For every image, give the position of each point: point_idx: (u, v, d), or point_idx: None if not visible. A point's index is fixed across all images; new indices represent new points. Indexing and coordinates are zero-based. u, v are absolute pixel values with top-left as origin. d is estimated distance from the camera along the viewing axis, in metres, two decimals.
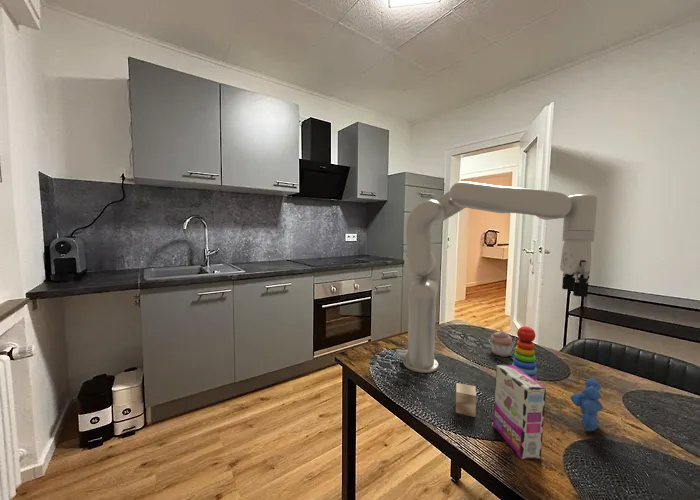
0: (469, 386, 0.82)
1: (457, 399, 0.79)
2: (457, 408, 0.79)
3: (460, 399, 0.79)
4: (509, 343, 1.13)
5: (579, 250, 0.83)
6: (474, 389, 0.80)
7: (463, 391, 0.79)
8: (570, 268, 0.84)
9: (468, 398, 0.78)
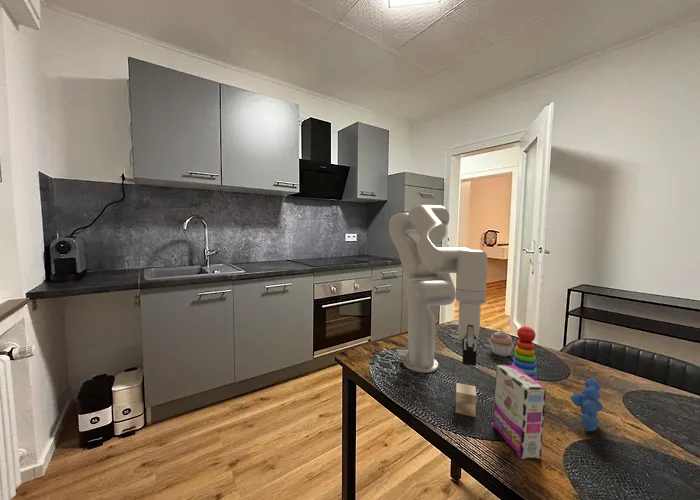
0: (469, 386, 0.82)
1: (457, 399, 0.79)
2: (457, 408, 0.79)
3: (460, 399, 0.79)
4: (509, 343, 1.13)
5: (466, 313, 0.74)
6: (474, 389, 0.80)
7: (463, 391, 0.79)
8: (459, 332, 0.75)
9: (468, 398, 0.78)
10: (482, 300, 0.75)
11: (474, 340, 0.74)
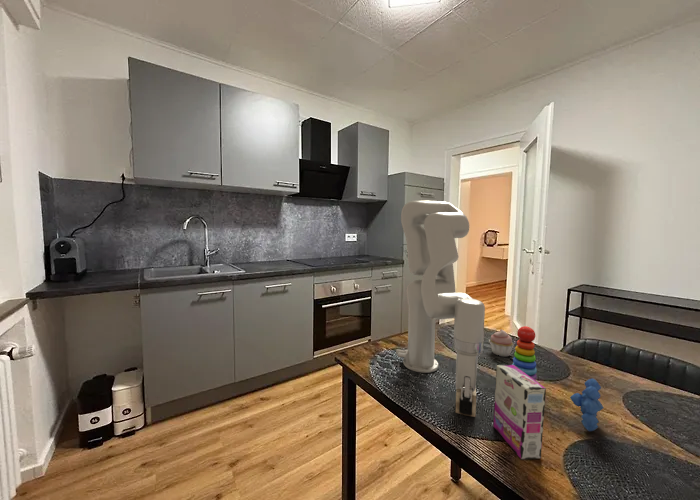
0: None
1: (457, 399, 0.79)
2: (457, 408, 0.79)
3: None
4: (509, 343, 1.13)
5: (463, 365, 0.75)
6: None
7: (463, 391, 0.79)
8: (456, 382, 0.77)
9: None
10: (479, 351, 0.76)
11: (470, 392, 0.77)
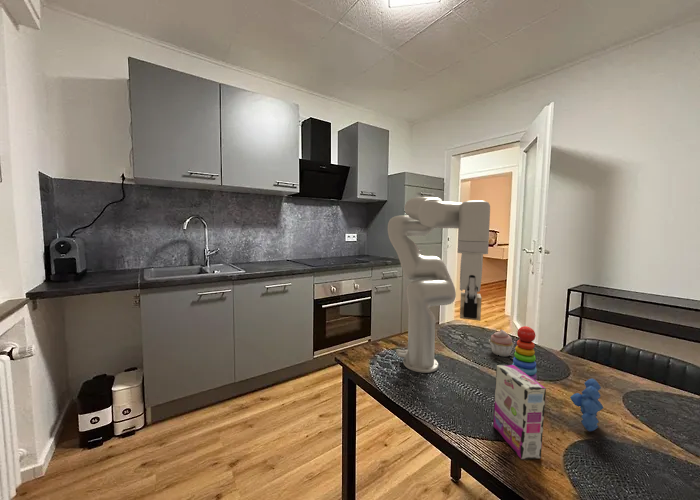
0: None
1: (461, 304, 0.77)
2: (461, 313, 0.77)
3: None
4: (509, 343, 1.13)
5: (468, 264, 0.73)
6: (479, 295, 0.78)
7: None
8: (460, 284, 0.75)
9: None
10: (484, 251, 0.74)
11: (475, 293, 0.74)
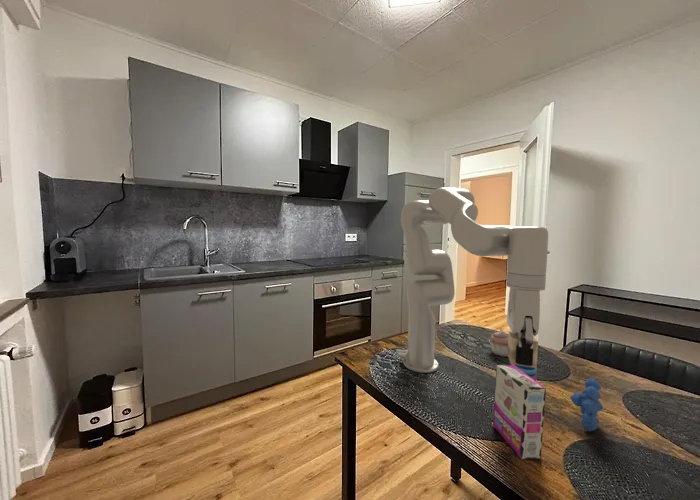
0: None
1: (513, 347, 0.65)
2: (513, 358, 0.65)
3: None
4: None
5: (524, 302, 0.61)
6: (533, 336, 0.66)
7: None
8: (513, 325, 0.63)
9: None
10: (542, 286, 0.62)
11: None
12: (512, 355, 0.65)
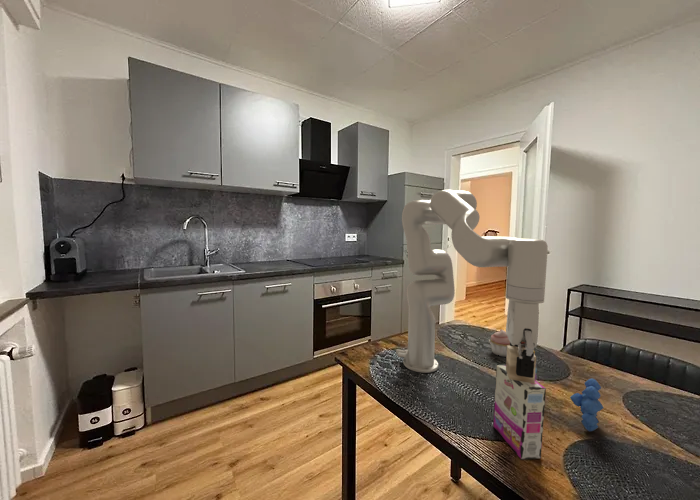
0: (524, 348, 0.68)
1: (511, 362, 0.65)
2: (511, 373, 0.66)
3: (515, 362, 0.65)
4: (509, 343, 1.13)
5: (523, 315, 0.62)
6: None
7: None
8: (512, 337, 0.63)
9: None
10: (541, 299, 0.62)
11: None
12: (510, 370, 0.66)
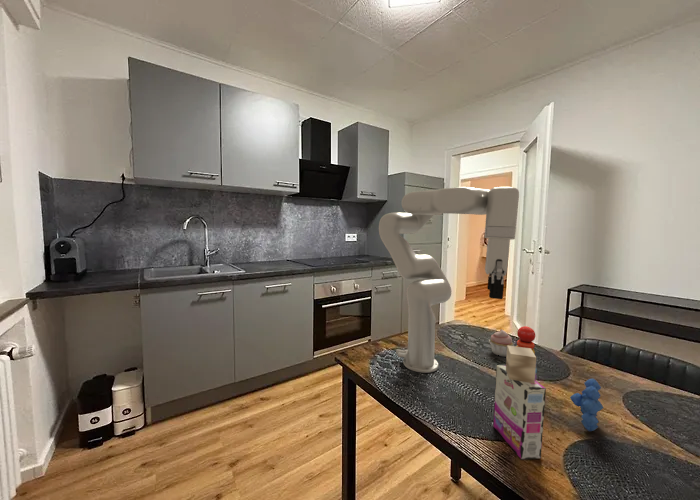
0: (524, 348, 0.68)
1: (511, 362, 0.65)
2: (511, 373, 0.66)
3: (515, 363, 0.65)
4: (509, 343, 1.13)
5: (496, 248, 0.76)
6: (531, 351, 0.67)
7: (519, 353, 0.66)
8: (487, 267, 0.77)
9: (525, 360, 0.64)
10: (512, 236, 0.76)
11: (502, 274, 0.76)
12: (510, 370, 0.66)
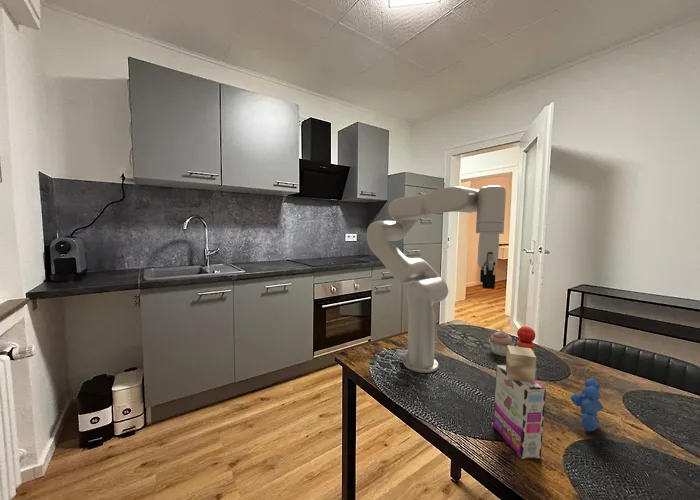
0: (524, 348, 0.68)
1: (511, 362, 0.65)
2: (511, 373, 0.66)
3: (515, 362, 0.65)
4: (509, 343, 1.13)
5: (487, 242, 0.82)
6: (531, 351, 0.67)
7: (519, 353, 0.66)
8: (479, 260, 0.84)
9: (525, 360, 0.64)
10: (501, 230, 0.83)
11: (493, 266, 0.82)
12: (510, 370, 0.66)
